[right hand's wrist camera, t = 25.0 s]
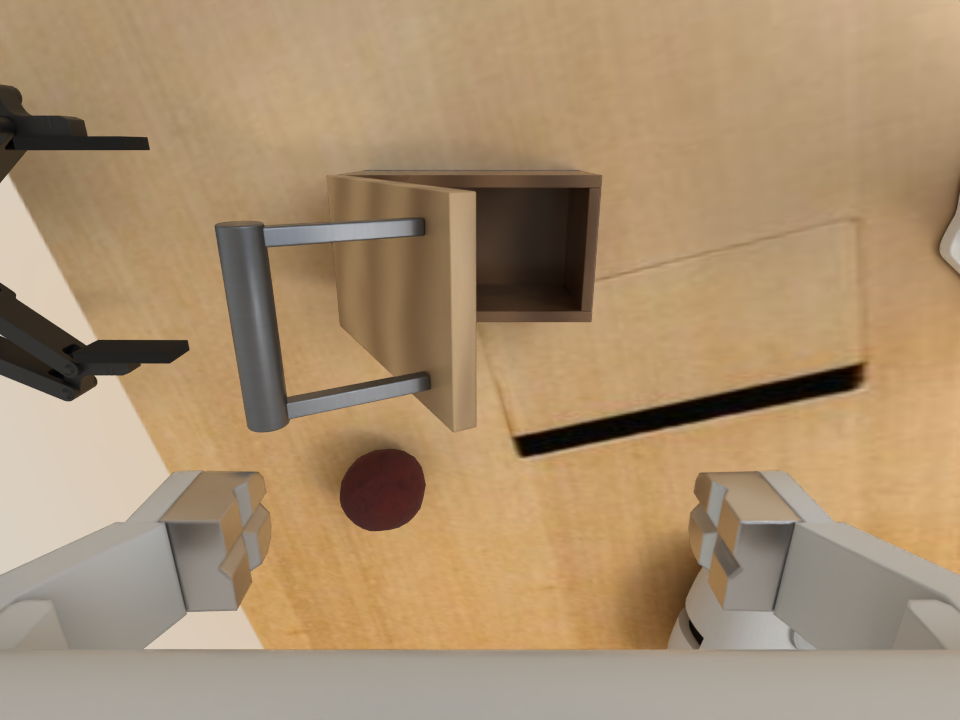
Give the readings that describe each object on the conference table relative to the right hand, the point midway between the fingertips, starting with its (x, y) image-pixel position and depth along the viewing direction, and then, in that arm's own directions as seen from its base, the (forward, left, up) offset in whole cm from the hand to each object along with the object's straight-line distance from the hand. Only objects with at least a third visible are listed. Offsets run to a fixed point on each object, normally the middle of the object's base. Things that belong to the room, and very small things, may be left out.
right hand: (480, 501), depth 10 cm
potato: (-11, +21, -38) cm, 44 cm away
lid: (+3, +3, -20) cm, 21 cm away
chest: (0, 0, -38) cm, 38 cm away
